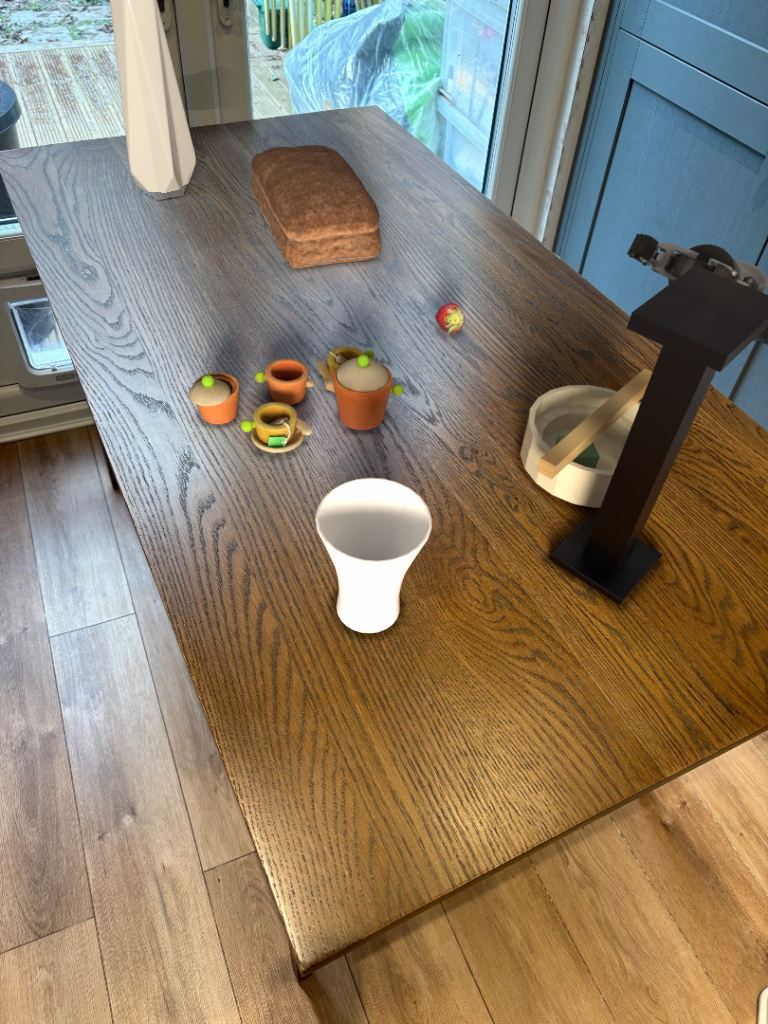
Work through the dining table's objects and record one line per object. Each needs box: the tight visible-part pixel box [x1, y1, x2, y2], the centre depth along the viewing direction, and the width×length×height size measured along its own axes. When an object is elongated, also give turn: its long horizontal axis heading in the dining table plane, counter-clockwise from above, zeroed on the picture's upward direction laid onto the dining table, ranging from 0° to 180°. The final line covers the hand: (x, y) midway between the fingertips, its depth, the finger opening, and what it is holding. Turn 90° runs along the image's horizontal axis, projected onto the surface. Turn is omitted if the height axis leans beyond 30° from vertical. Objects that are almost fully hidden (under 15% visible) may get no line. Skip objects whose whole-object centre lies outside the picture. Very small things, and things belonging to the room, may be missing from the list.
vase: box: [109, 0, 197, 193], centre depth 127 cm, size 12×12×33 cm
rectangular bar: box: [537, 367, 653, 479], centre depth 89 cm, size 24×2×2 cm, turn 138°
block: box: [555, 435, 600, 469], centre depth 91 cm, size 4×4×4 cm
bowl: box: [519, 384, 641, 509], centre depth 92 cm, size 16×16×6 cm
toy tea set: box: [188, 345, 405, 454], centre depth 94 cm, size 26×16×10 cm, turn 116°
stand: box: [548, 265, 768, 606], centre depth 71 cm, size 11×9×32 cm
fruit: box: [435, 302, 466, 335], centre depth 111 cm, size 4×6×5 cm
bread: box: [250, 144, 382, 269], centre depth 129 cm, size 17×29×11 cm, turn 19°
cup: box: [314, 477, 433, 634], centre depth 72 cm, size 10×10×14 cm
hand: (678, 258), depth 79 cm, fingers open, 8 cm apart
